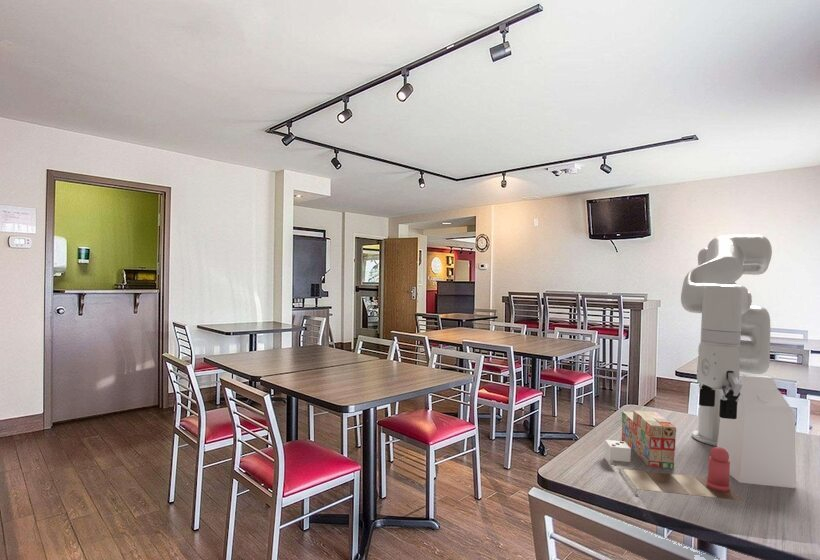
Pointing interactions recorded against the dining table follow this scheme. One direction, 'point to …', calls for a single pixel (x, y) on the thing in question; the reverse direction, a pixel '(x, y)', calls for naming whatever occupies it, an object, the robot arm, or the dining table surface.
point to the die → (617, 451)
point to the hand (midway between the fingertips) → (716, 411)
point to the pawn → (718, 470)
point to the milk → (760, 435)
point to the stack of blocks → (650, 437)
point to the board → (673, 484)
